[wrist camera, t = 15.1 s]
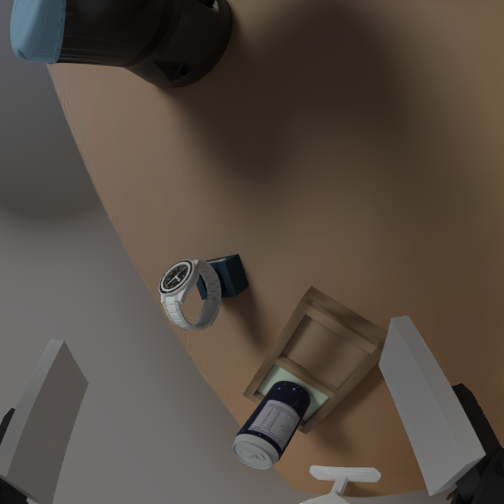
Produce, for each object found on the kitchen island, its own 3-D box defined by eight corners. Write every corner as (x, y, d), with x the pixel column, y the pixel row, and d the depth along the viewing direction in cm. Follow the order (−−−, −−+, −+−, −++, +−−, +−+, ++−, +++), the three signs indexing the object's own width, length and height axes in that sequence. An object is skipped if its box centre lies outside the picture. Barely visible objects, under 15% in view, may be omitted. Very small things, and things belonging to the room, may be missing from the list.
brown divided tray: (254, 379, 46) (242, 394, 43) (311, 286, 37) (300, 299, 34) (314, 417, 43) (306, 434, 40) (389, 334, 34) (385, 352, 31)
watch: (233, 239, 40) (175, 270, 31) (252, 298, 41) (204, 342, 32) (199, 247, 43) (141, 276, 34) (219, 302, 44) (167, 341, 35)
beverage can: (268, 376, 41) (221, 437, 31) (306, 375, 38) (265, 443, 28) (280, 407, 42) (240, 467, 32) (317, 407, 39) (281, 474, 29)
